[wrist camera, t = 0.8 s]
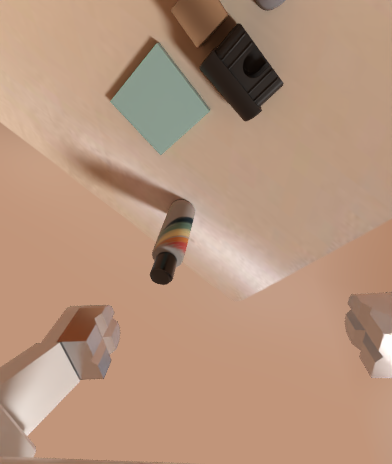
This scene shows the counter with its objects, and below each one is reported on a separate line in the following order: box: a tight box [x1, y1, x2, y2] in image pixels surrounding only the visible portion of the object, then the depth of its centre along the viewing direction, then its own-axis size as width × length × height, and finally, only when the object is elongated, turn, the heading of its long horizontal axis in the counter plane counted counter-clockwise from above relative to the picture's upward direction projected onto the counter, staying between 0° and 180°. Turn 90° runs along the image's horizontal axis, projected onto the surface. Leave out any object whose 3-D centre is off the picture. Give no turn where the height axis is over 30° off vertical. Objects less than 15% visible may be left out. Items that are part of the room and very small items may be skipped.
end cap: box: [200, 24, 284, 121], centre depth 36 cm, size 10×7×7 cm
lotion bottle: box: [150, 200, 195, 285], centre depth 48 cm, size 6×6×20 cm
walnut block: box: [171, 0, 229, 48], centre depth 33 cm, size 5×5×5 cm
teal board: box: [110, 43, 210, 155], centre depth 42 cm, size 12×12×1 cm
